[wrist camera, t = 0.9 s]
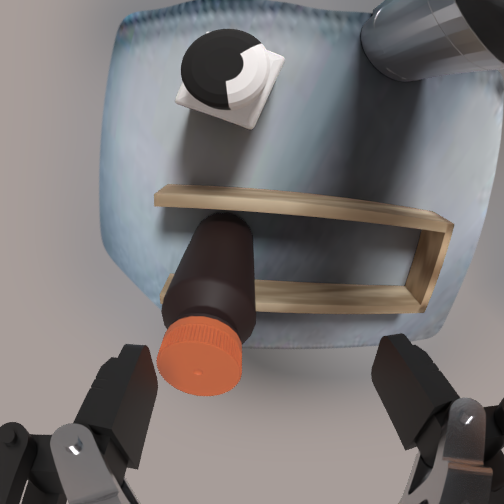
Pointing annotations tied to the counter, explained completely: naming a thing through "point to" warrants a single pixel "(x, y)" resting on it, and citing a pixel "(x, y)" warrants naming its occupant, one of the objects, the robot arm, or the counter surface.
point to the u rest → (294, 203)
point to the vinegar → (210, 308)
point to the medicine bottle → (228, 76)
